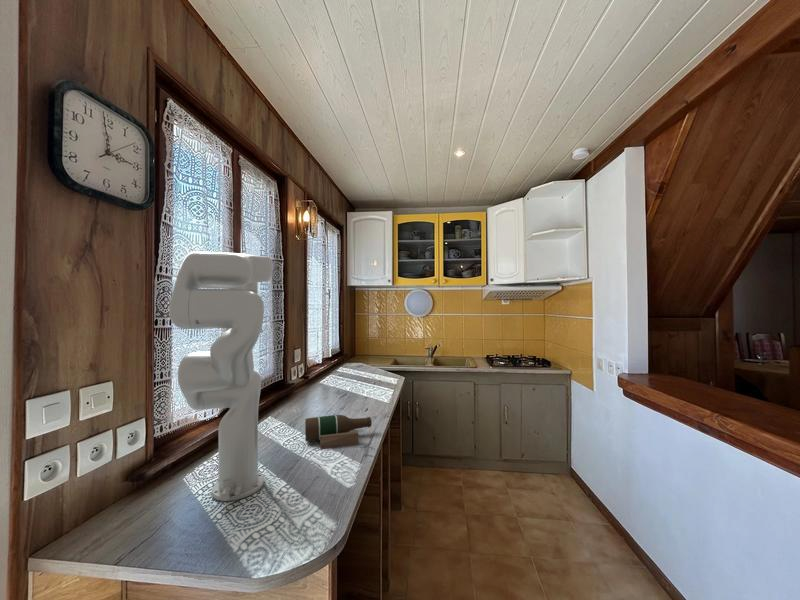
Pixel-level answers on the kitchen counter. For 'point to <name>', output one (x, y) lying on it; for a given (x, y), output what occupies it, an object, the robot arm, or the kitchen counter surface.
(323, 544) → the kitchen counter surface
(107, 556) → the kitchen counter surface
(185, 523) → the kitchen counter surface
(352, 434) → the block
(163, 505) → the kitchen counter surface
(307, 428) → the beer bottle
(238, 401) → the robot arm
